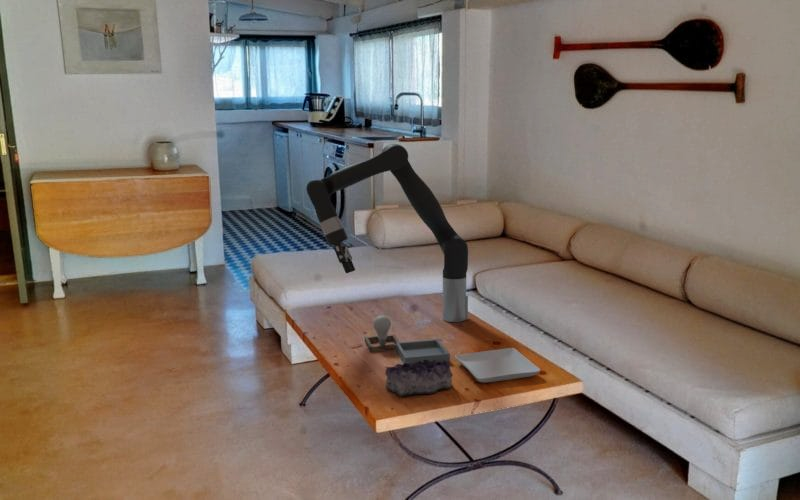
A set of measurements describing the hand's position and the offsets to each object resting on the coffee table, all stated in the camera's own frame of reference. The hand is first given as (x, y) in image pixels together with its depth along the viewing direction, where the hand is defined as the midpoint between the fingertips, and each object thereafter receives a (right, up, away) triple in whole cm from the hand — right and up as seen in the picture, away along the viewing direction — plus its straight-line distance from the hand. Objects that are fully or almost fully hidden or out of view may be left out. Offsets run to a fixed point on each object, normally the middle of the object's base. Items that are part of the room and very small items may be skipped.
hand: (350, 271), depth 257 cm
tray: (+25, -28, -20) cm, 43 cm away
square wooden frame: (+12, -26, -9) cm, 30 cm away
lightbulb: (+12, -26, -9) cm, 30 cm away
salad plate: (+49, -31, -34) cm, 67 cm away
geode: (+24, -34, -47) cm, 62 cm away
